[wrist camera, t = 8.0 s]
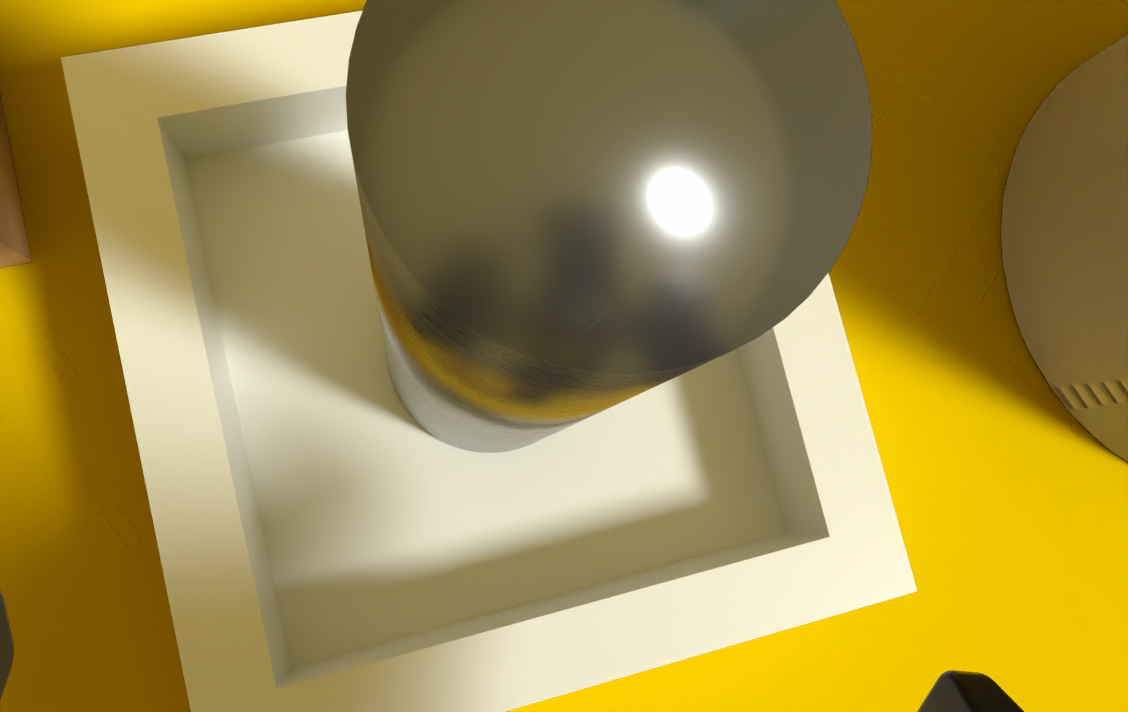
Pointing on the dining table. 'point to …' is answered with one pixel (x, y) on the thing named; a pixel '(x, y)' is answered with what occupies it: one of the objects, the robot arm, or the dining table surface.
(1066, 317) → the coffee mug
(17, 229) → the brown flat square frame
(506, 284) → the strut
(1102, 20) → the dining table surface
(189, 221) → the bin tray
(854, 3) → the dining table surface
